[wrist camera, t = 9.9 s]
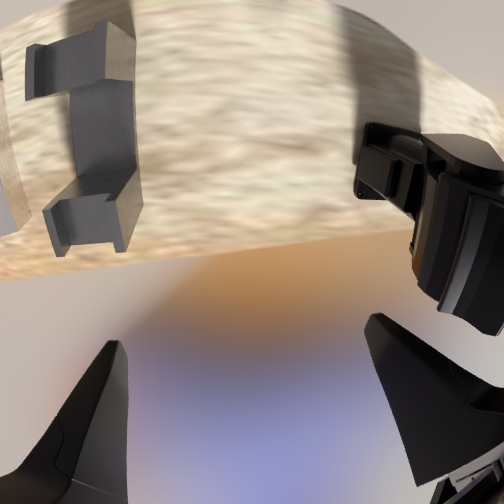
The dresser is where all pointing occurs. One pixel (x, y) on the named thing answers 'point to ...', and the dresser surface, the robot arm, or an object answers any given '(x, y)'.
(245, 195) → the dresser surface
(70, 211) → the standards
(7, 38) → the dresser surface
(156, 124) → the dresser surface
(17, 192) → the rail
